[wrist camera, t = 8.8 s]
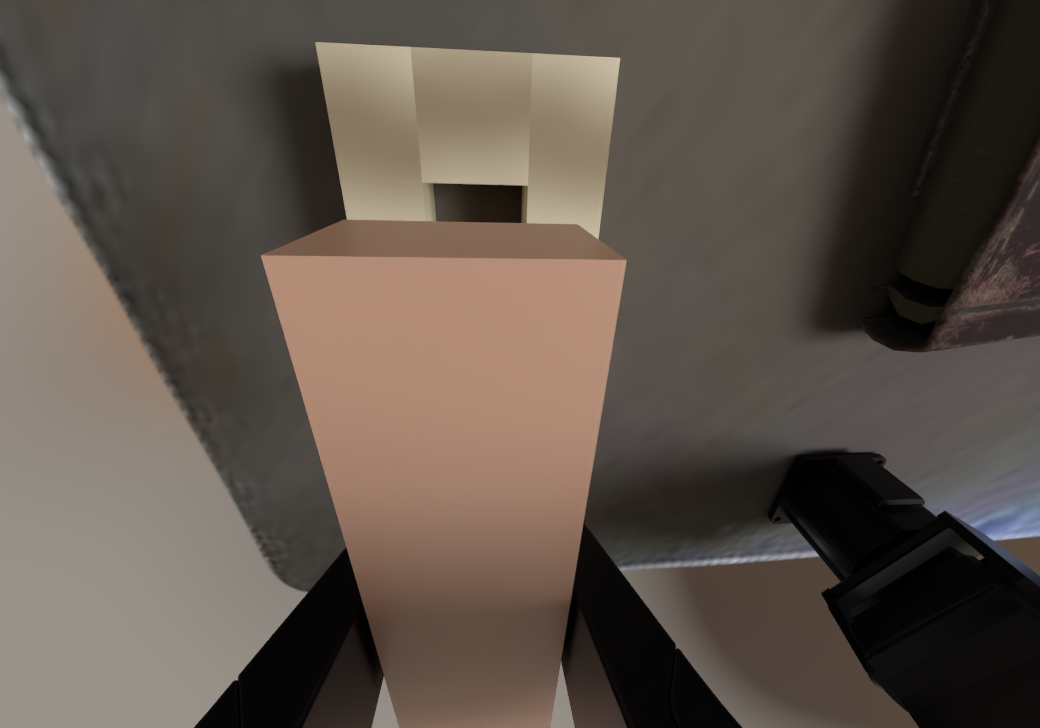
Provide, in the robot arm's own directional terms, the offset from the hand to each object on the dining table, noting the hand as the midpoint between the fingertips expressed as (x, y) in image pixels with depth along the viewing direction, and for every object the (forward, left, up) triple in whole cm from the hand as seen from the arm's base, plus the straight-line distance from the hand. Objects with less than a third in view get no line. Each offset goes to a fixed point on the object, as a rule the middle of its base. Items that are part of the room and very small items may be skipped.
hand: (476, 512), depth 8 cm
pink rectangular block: (0, 0, -3) cm, 2 cm away
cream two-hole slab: (0, 0, -13) cm, 13 cm away
